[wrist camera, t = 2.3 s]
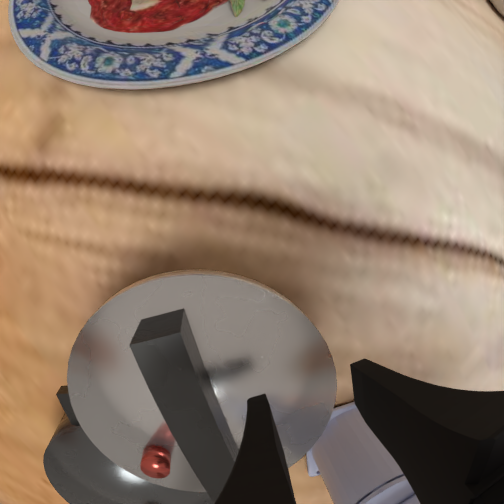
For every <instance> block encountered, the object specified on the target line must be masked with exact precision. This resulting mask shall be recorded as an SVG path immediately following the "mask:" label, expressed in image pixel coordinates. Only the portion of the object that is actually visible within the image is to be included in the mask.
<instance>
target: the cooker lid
mask: <svg viewBox="0 0 504 504" xmlns="http://www.w3.org/2000/svg"><path fill="white" fill-rule="evenodd" d="M67 382H68V392H69V397H70V401H71V405H72V408H73V410H74V413H75V416H76V418H77V420H78V422H79V424H80V425H81V427H82V429H83V431H84V432H85V433H86V435H87V436H88V437H89V439H90V440H91V441H92V443H93V444H94V445H95V446H96V447H97V448H98V449H99V450H100V451H101V452H102V453H103V454H104V455H105V456H106V457H108V458H109V459H110V460H111V461H112V462H114V463H115V464H117V465H118V466H119V467H121V468H122V469H124V470H126V471H127V472H129V473H131V474H133V475H135V476H137V477H139V478H141V479H143V480H146V481H148V482H151V483H154V484H157V485H160V486H163V487H167V488H172V489H177V490H183V491H191V492H207V493H208V495H209V496H210V498H211V499H212V501H213V502H215V501H216V500H217V498H218V496H219V495H220V493H221V491H222V489H223V487H224V486H225V484H226V482H227V480H228V478H229V475H230V473H231V471H232V469H233V466H234V463H235V461H236V458H237V455H238V452H239V448H240V445H241V442H242V438H243V433H244V428H245V423H246V416H247V400H248V399H249V398H251V397H254V396H258V395H261V394H266V396H267V399H268V402H269V405H270V408H271V411H272V415H273V418H274V421H275V424H276V428H277V431H278V434H279V437H280V440H281V444H282V447H283V450H284V453H285V458H286V462H287V467H288V468H289V467H291V466H292V465H293V464H295V463H296V462H297V461H298V460H300V459H301V458H302V457H303V456H304V455H305V454H306V453H307V452H308V451H309V450H310V449H311V448H312V447H313V446H314V444H315V443H316V442H317V441H318V439H319V438H320V437H321V435H322V433H323V432H324V430H325V428H326V426H327V425H328V422H329V420H330V417H331V415H332V412H333V408H334V404H335V400H336V391H337V380H336V370H335V366H334V362H333V358H332V355H331V353H330V351H329V348H328V346H327V344H326V342H325V340H324V339H323V337H322V336H321V334H320V333H319V331H318V330H317V328H316V327H315V326H314V325H313V324H312V322H311V321H310V320H309V319H308V318H307V317H306V316H305V314H304V313H303V312H302V311H301V310H300V309H299V308H298V307H297V306H296V305H295V304H293V303H292V302H291V301H290V300H289V299H287V298H286V297H285V296H283V295H282V294H280V293H278V292H277V291H275V290H274V289H272V288H271V287H268V286H266V285H264V284H262V283H260V282H257V281H255V280H253V279H250V278H246V277H243V276H240V275H237V274H233V273H227V272H222V271H216V270H199V269H192V270H179V271H171V272H166V273H162V274H157V275H153V276H151V277H148V278H145V279H142V280H139V281H137V282H135V283H133V284H131V285H129V286H127V287H125V288H123V289H122V290H120V291H119V292H117V293H116V294H115V295H113V296H112V297H111V298H109V299H108V300H107V301H106V302H105V303H104V304H103V305H102V306H101V307H100V308H99V309H98V310H97V311H96V312H95V313H94V314H93V315H92V317H91V318H90V319H89V320H88V321H87V323H86V324H85V326H84V327H83V329H82V330H81V331H80V333H79V335H78V337H77V339H76V341H75V343H74V345H73V347H72V351H71V355H70V358H69V362H68V373H67Z"/></svg>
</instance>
